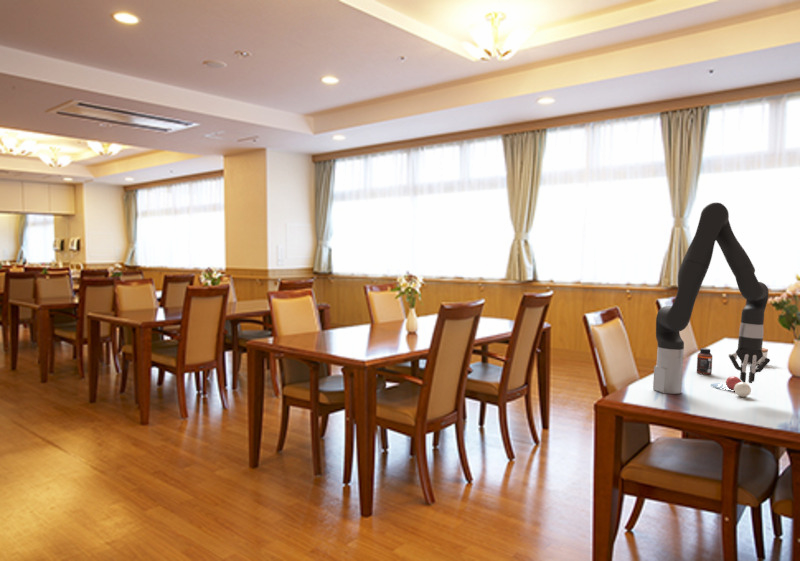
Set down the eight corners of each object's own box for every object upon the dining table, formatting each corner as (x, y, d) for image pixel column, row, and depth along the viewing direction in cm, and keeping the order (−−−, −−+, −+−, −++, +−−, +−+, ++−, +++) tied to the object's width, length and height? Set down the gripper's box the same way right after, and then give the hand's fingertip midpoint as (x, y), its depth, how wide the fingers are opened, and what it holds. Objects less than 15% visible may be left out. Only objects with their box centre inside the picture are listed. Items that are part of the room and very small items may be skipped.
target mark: (730, 392, 217) (730, 392, 217) (702, 384, 231) (702, 383, 231) (759, 391, 221) (759, 390, 221) (730, 382, 234) (730, 382, 234)
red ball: (733, 373, 220) (728, 373, 225) (725, 385, 220) (721, 384, 225) (746, 381, 218) (742, 381, 224) (738, 393, 218) (734, 392, 224)
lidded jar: (746, 360, 286) (747, 342, 285) (770, 364, 278) (771, 345, 277) (738, 362, 279) (739, 344, 278) (762, 366, 271) (763, 347, 270)
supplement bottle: (713, 375, 248) (714, 350, 247) (698, 374, 249) (700, 349, 249) (708, 372, 254) (710, 348, 253) (694, 371, 255) (696, 347, 254)
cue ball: (738, 378, 215) (736, 390, 216) (732, 383, 211) (730, 396, 213) (754, 382, 211) (752, 395, 212) (748, 388, 207) (746, 401, 209)
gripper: (769, 336, 206) (765, 382, 207) (727, 332, 210) (723, 378, 211) (775, 339, 199) (771, 386, 200) (732, 335, 203) (728, 382, 204)
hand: (746, 382), depth 205 cm, fingers closed
